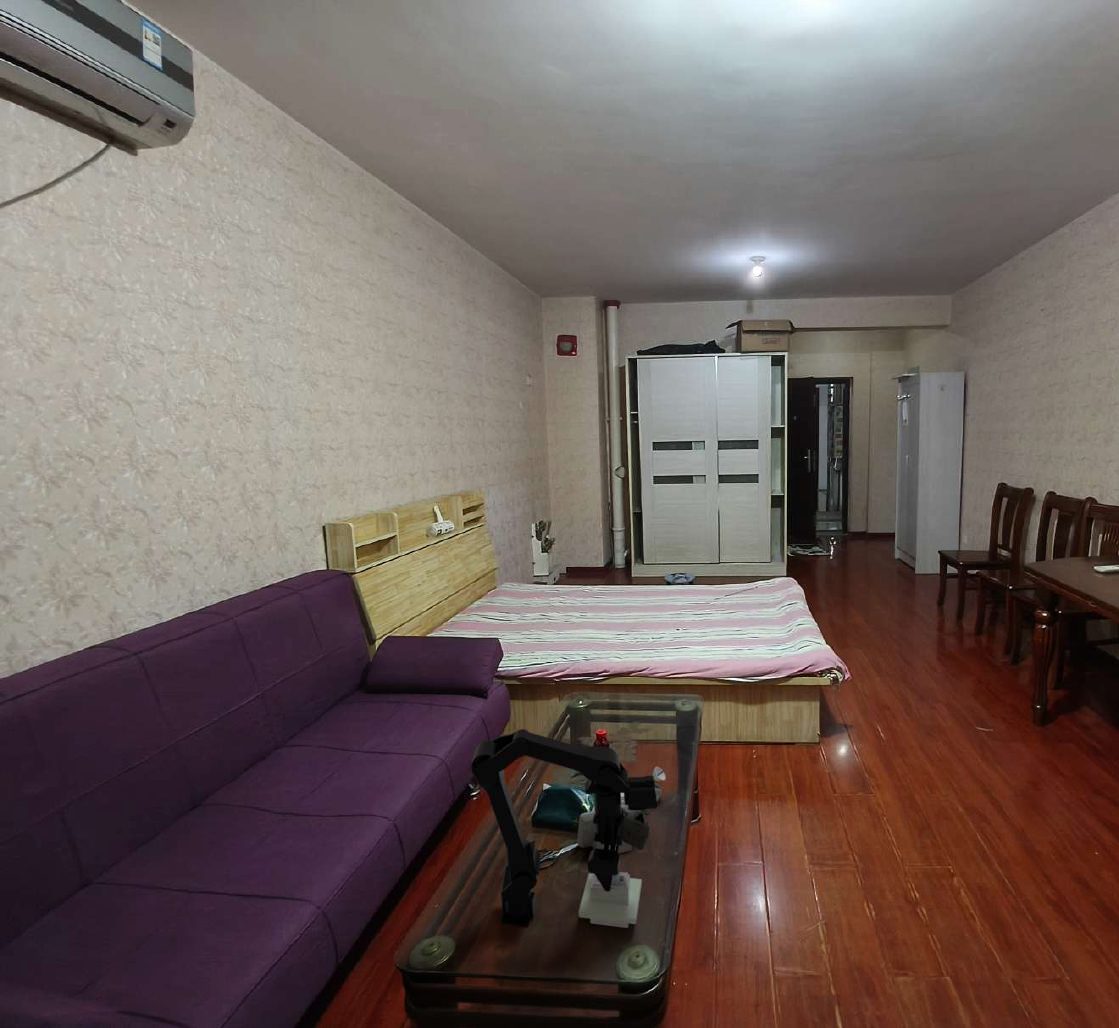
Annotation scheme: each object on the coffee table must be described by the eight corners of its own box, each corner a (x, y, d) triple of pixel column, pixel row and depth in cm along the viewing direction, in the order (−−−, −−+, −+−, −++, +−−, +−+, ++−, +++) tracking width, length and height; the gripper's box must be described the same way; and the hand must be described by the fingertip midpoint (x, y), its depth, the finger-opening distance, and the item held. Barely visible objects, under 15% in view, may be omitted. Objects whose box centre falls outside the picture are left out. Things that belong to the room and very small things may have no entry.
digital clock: (638, 832, 171) (637, 794, 169) (645, 854, 162) (643, 814, 160) (576, 837, 170) (574, 799, 168) (579, 860, 161) (577, 820, 159)
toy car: (668, 762, 186) (657, 783, 176) (669, 795, 187) (658, 817, 177) (608, 752, 193) (594, 772, 183) (609, 783, 195) (595, 804, 184)
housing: (628, 905, 140) (627, 886, 139) (591, 902, 141) (590, 883, 141) (630, 888, 145) (629, 870, 144) (594, 885, 146) (593, 867, 145)
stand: (579, 929, 139) (578, 912, 138) (589, 889, 151) (588, 873, 150) (636, 936, 136) (635, 919, 136) (642, 895, 148) (641, 879, 147)
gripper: (641, 840, 129) (644, 912, 131) (650, 788, 147) (652, 852, 149) (585, 835, 132) (589, 905, 134) (600, 784, 150) (603, 847, 152)
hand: (610, 876), depth 142 cm, fingers open, 9 cm apart
